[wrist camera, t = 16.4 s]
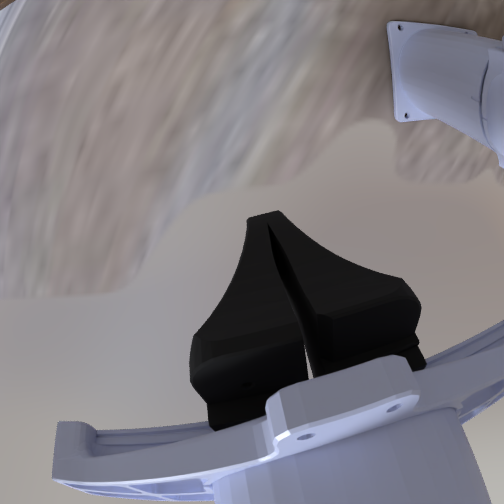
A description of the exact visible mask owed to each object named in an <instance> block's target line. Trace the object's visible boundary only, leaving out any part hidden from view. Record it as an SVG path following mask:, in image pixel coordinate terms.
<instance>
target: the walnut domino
mask: <svg viewBox="0 0 504 504" xmlns="http://www.w3.org/2000/svg"><path fill="white" fill-rule="evenodd" d="M14 1H15V0H5V1H3V2H2V3H1V4H0V10H2V9H3V8H5V7H6V6H8V5H9V4H11V3H12V2H14Z"/></svg>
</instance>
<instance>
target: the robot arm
mask: <svg viewBox="0 0 504 504" xmlns="http://www.w3.org/2000/svg"><path fill="white" fill-rule="evenodd" d="M398 25H400V27H401V29H400V31H399V29H398ZM387 33H388V41H389V50H390V59H391V69H392V82H393V97H394V116H395V119H396V120H397V121H399V122H408V121H417V120H427V119H438V120H440V121H442V122H444V123H446V124H448V125H450V126H452V127H453V128H455V129H457V130H459V131H461V132H463V133H464V134H466V135H468V136H470V137H471V138H473V139H475V140H476V141H478V142H480V143H481V144H483V145H485V146H486V147H488V148H490V149H491V150H493V151H494V152H496V153H497V155H498V159H499V166H501V167H502V168H504V35H503V37H502V41H500V40H495V39H491V38H486V37H481V36H477V33H476V32H475V31H473V30H467V29H462V28H456V27H449V26H442V25H434V24H426V23H415V22H402V21H389V22H388V23H387ZM405 113H407V116H406V117H405ZM292 308H293V309H292ZM420 314H421V304H420V301H419V300H418V298H417V297H416V295H415V294H414V292H413V291H412V289H411V288H410V287H409V286H408V285H407V284H406V283H405V281H404V280H403V279H402V278H398V277H394V276H390V275H386V274H383V273H379V272H376V271H373V270H370V269H367V268H364V267H362V266H359V265H357V264H355V263H352V262H350V261H348V260H345V259H343V258H342V257H339V256H337V255H335V254H334V253H332V252H331V251H329V250H327V249H325V248H324V247H322V246H321V245H319V244H318V243H317V242H315V241H314V240H312V239H311V238H310V237H309V236H307V235H306V234H305V233H303V232H302V231H301V230H300V229H299V228H297V227H296V226H295V225H294V224H293V223H292V222H291V221H290V220H288V219H287V217H286V216H284V214H283V213H282V212H280V211H279V210H278V211H273V212H269V213H265V214H261V215H257V216H254V217H250V218H248V219H247V231H246V237H245V242H244V246H243V251H242V254H241V257H240V260H239V263H238V266H237V269H236V271H235V274H234V276H233V278H232V281H231V283H230V285H229V286H228V288H227V290H226V292H225V294H224V296H223V298H222V299H221V301H220V302H219V304H218V305H217V307H216V308H215V310H214V311H213V313H212V314H211V316H210V317H209V318H208V319H207V321H206V322H205V323H204V324H203V325H202V327H201V328H200V329H199V330H198V331H197V333H195V334H194V336H193V340H192V345H191V351H190V361H189V367H190V382H191V384H192V386H193V388H194V389H195V390H196V391H197V393H198V394H199V395H200V396H201V397H202V399H203V400H204V401H205V402H206V403H207V410H208V421H205V422H198V423H190V424H182V425H173V426H163V427H152V428H139V429H120V430H96V429H95V428H93V427H92V426H90V425H89V424H87V423H84V422H79V421H59V422H58V424H57V431H56V439H55V447H54V458H53V469H52V479H53V481H56V482H59V483H61V484H64V485H66V486H69V487H72V488H74V489H77V490H80V491H83V492H86V493H89V494H92V495H98V496H107V497H116V498H127V499H141V500H156V501H214V502H215V504H491V500H490V498H489V495H488V492H487V489H486V486H485V483H484V480H483V477H482V475H481V472H480V469H479V467H478V464H477V462H476V459H475V456H474V454H473V451H472V449H471V447H470V444H469V442H468V439H467V437H466V435H465V432H464V430H463V428H462V424H464V423H465V422H467V421H468V420H470V419H472V418H473V417H475V416H476V415H478V414H479V413H481V412H482V411H484V410H485V409H487V408H488V407H490V406H491V405H492V404H494V403H495V402H497V401H498V400H500V399H501V398H502V397H504V320H503V321H501V322H499V323H497V324H496V325H494V326H492V327H490V328H488V329H487V330H485V331H483V332H481V333H479V334H477V335H475V336H474V337H472V338H469V339H467V340H466V341H463V342H462V343H460V344H457V345H455V346H453V347H451V348H449V349H447V350H445V351H443V352H441V353H438V354H436V355H434V356H432V357H429V358H427V359H424V357H423V355H422V353H421V351H420V349H419V347H418V345H419V339H418V337H417V336H416V334H415V330H416V327H417V324H418V321H419V318H420ZM304 345H305V347H304ZM305 349H306V352H307V356H308V359H309V363H310V367H311V370H312V373H313V379H310V380H309V378H308V371H307V363H306V355H305Z"/></svg>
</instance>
